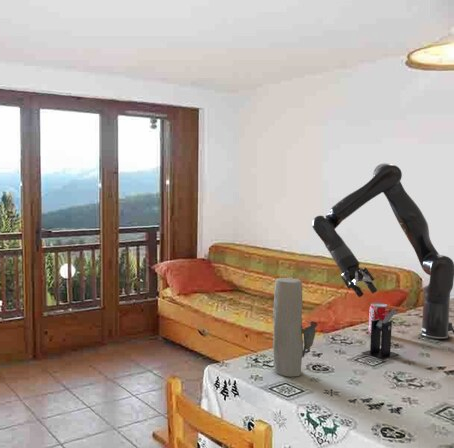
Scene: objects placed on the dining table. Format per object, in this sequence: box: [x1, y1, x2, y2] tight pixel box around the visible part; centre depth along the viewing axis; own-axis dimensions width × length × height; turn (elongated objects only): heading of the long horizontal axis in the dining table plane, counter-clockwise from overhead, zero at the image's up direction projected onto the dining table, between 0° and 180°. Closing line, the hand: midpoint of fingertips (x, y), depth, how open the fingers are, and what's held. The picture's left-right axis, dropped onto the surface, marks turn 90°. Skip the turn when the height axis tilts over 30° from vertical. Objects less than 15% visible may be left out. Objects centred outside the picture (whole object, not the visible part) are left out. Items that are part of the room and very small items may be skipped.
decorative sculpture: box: [272, 277, 318, 378], centre depth 158 cm, size 14×10×30 cm
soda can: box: [367, 302, 390, 335], centre depth 200 cm, size 7×7×13 cm
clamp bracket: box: [361, 319, 400, 361], centre depth 175 cm, size 10×8×13 cm
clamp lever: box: [376, 304, 407, 331], centre depth 177 cm, size 12×7×2 cm
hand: (368, 294), depth 190 cm, fingers open, 8 cm apart
